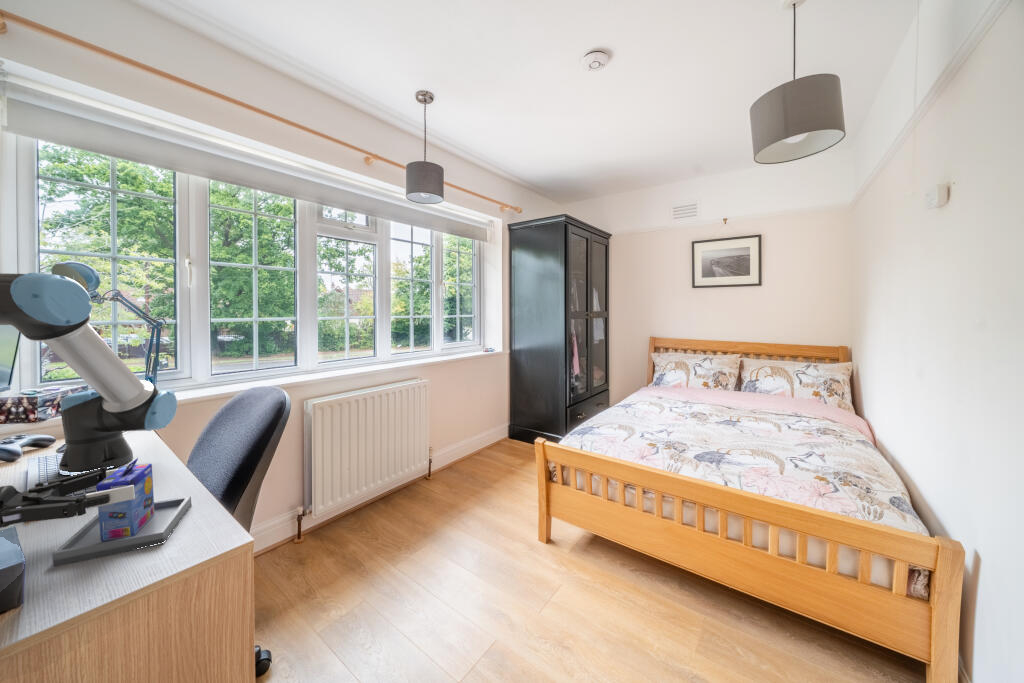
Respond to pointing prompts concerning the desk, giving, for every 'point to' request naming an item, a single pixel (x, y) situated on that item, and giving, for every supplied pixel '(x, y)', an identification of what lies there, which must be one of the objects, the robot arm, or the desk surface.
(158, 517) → the dock tray
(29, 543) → the desk surface
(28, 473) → the desk surface
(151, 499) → the ink cartridge box
